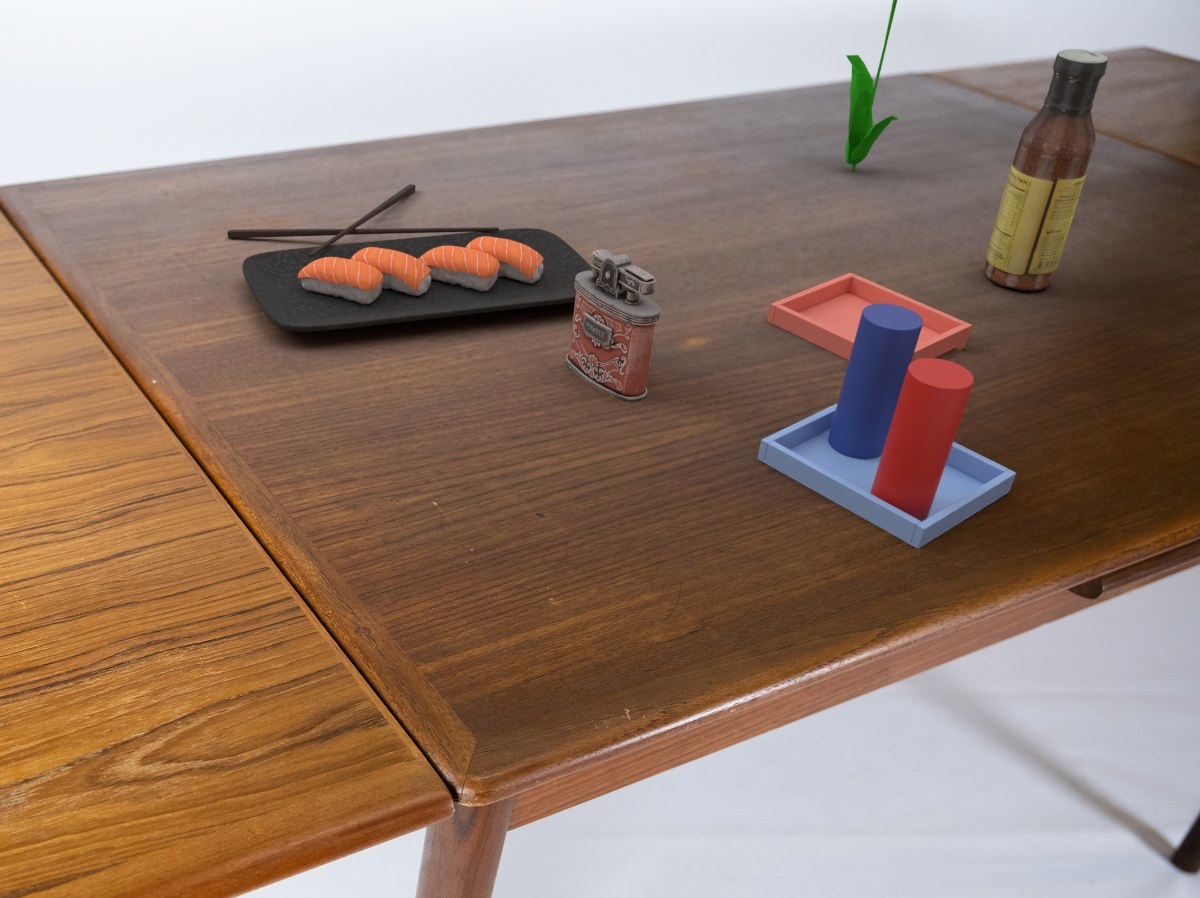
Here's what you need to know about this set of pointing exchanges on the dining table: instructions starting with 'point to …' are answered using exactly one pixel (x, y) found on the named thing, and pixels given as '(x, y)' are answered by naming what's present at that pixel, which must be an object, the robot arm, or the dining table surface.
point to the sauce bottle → (1046, 177)
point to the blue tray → (851, 479)
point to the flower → (864, 107)
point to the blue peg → (874, 379)
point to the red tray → (838, 309)
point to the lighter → (613, 326)
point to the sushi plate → (408, 274)
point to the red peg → (922, 434)
